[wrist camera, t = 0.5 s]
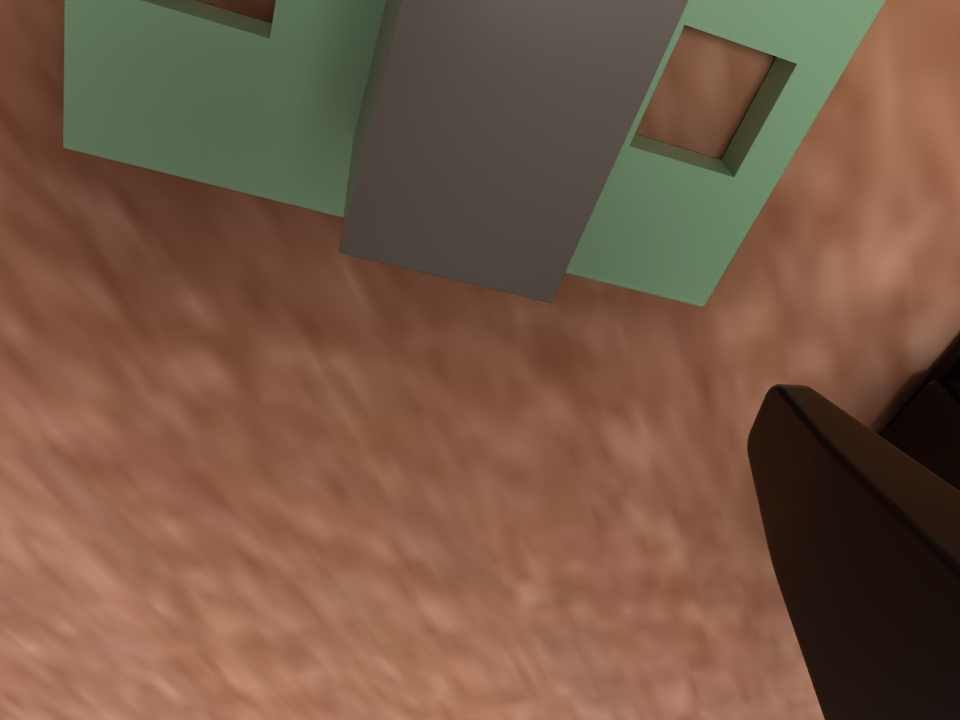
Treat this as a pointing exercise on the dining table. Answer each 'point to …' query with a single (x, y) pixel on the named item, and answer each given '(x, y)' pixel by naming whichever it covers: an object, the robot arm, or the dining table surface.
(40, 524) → the dining table surface
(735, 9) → the board
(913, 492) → the robot arm
